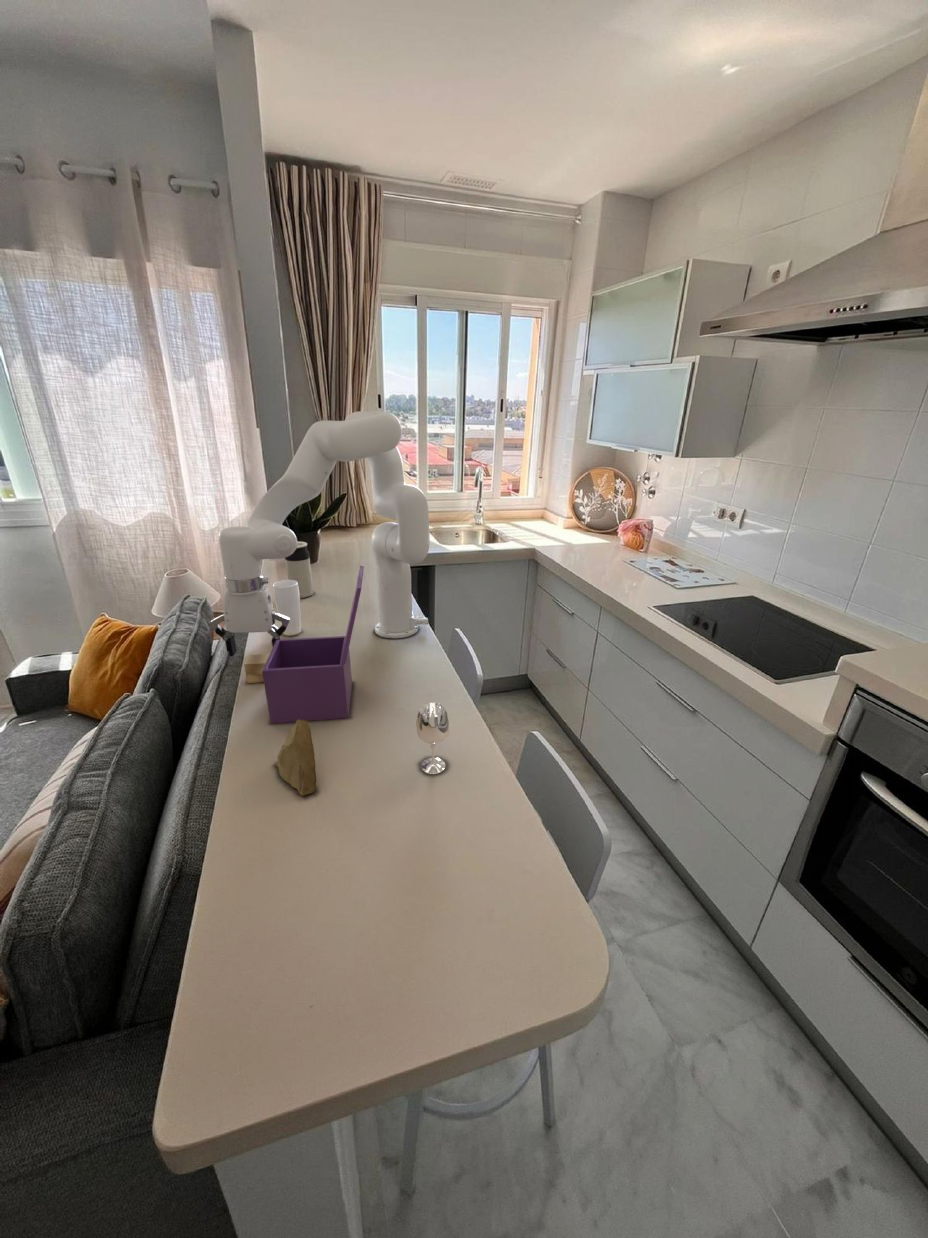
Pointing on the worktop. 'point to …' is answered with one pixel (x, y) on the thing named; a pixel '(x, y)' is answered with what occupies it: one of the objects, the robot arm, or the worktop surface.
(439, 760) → the wineglass
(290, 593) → the drinking glass
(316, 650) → the purple box
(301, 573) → the travel mug
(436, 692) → the worktop surface
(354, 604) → the lid
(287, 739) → the rock
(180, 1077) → the worktop surface
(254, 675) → the block
